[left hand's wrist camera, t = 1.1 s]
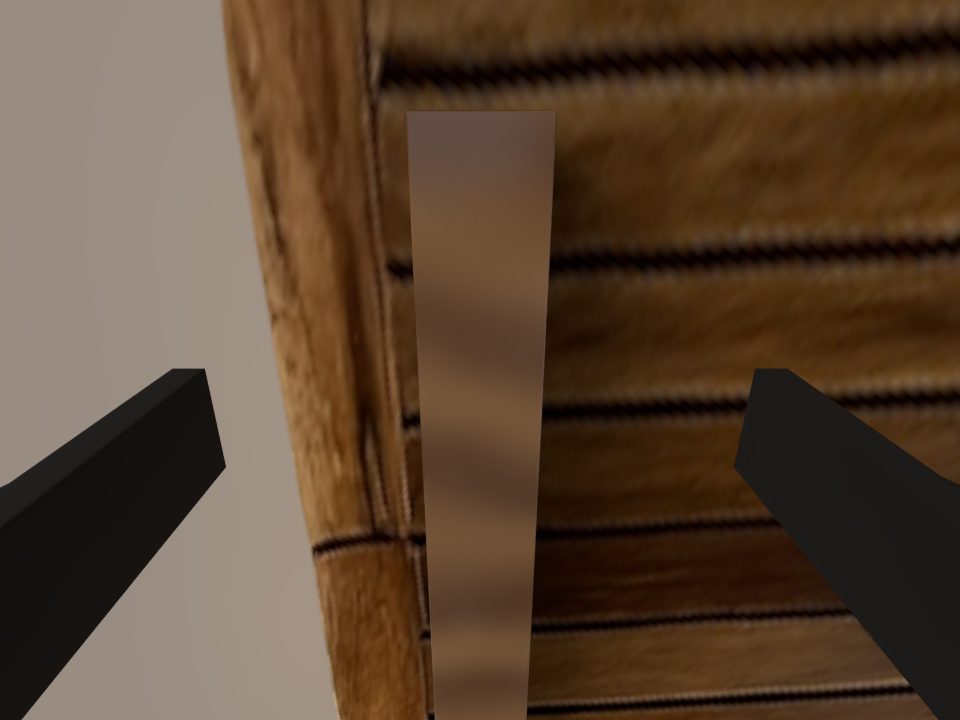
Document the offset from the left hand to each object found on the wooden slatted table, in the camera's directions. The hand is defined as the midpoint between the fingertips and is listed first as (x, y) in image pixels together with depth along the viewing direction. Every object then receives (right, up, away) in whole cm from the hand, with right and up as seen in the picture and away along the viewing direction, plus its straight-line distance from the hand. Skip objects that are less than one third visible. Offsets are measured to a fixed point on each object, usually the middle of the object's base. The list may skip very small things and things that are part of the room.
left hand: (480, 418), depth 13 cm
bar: (0, -20, +24) cm, 31 cm away
